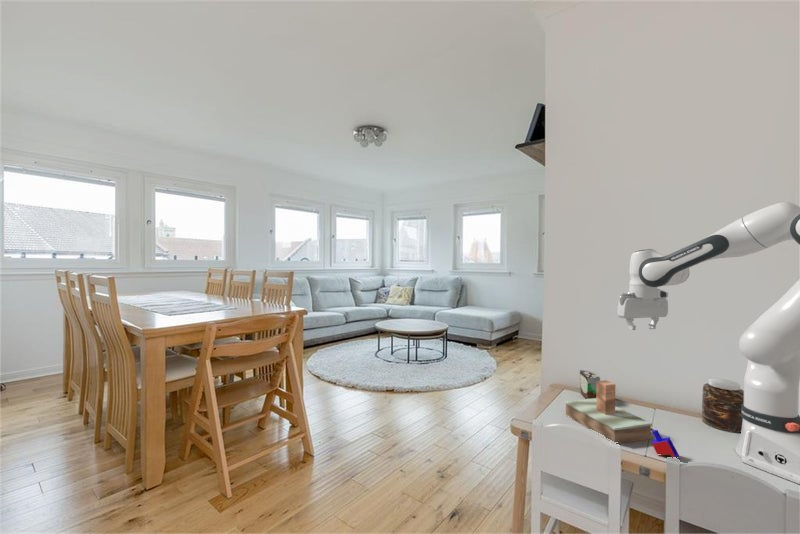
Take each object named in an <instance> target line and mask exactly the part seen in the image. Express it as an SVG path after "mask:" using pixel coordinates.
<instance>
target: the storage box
mask: <svg viewBox="0 0 800 534" xmlns="http://www.w3.org/2000/svg"><path fill="white" fill-rule="evenodd" d="M564 404H565V416H566V415H567V416H566V417H568V416H569V417H568V418H570V419H571V418H572V420H573V419H574V420H573V421H575V422H577V423H578V424H580V425H582V426H583V427H585V428H587V429H588V428H589V430H590V429H592V430H594V431H596V432H598V433H600V434H602V435H604V436H605V437H606V438H608V439H610V440H612V441H614V442H618V443H617V444H623V443H630V442H639V441H644V440H650V439H651V438H652V437H651V436H652V435H651V434H652V430H651V429H652V428H651V427H652V426H653V423H652V422H650V421H648V420H646V419H643V418H642V417H639V416H638V415H636V414H632V413H631V412H629V411H626V410H624V409H622V408H621V407H618V406H617V405H615V414H606V415H605V414H603V413H601V412H599V411H597V410H596V398H593V399H584V398H583V399H574V400H567V401H564ZM592 430H591V431H592Z"/></svg>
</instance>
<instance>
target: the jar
mask: <svg viewBox="0 0 800 534" xmlns="http://www.w3.org/2000/svg"><path fill="white" fill-rule="evenodd" d="M701 396H702V399H701V401H702V403H701V405H702V406H701V420H702V422H703V423H704V424H705V425H707V426H710V427H711V426H712V427H711V428H714V429H716V428H717V430H719V431H720V430H721V431H725V432H727V433H728V432H729V433H736V432H737V434H738V433H740V432H741V429H742V418H741V407H742V404H743V403H744V389H742V388H741V384H740V383H739V382H736V381H733V380H728V379H724V378H717V377H716V378H713V377H712V378H708V383H704V384H703V387H702V395H701ZM740 434H741V433H740Z"/></svg>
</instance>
